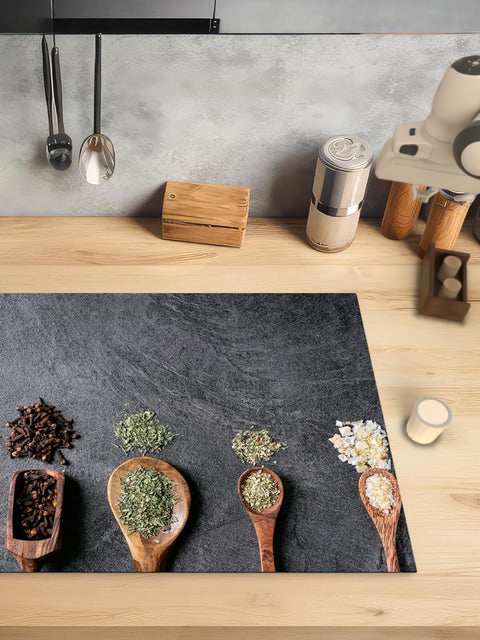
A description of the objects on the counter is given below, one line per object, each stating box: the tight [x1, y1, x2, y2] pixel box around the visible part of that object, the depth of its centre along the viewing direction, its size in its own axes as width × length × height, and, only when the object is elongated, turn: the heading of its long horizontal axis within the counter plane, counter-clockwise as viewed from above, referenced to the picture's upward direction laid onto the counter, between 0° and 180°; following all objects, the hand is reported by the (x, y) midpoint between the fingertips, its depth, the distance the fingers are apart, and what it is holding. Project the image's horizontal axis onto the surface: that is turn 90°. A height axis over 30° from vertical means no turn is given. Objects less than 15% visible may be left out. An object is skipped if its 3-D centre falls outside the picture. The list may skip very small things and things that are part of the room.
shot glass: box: [406, 396, 453, 445], centre depth 139 cm, size 7×7×7 cm
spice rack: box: [418, 241, 471, 323], centre depth 160 cm, size 9×16×7 cm, turn 165°
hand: (419, 199), depth 145 cm, fingers closed
